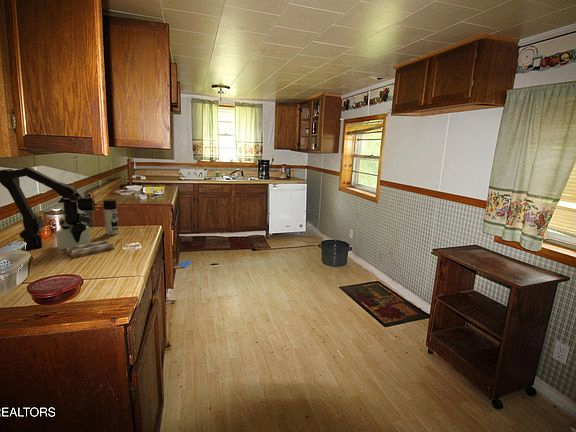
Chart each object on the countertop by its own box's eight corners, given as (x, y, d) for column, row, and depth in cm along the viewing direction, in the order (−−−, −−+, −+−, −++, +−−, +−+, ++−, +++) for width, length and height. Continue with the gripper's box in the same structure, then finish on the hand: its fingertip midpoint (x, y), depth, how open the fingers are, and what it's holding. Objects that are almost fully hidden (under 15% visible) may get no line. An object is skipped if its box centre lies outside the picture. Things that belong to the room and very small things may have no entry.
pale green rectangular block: (59, 249, 156) (57, 232, 154) (57, 248, 158) (55, 230, 156) (91, 243, 166) (89, 227, 165) (88, 242, 168) (86, 226, 167)
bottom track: (73, 258, 145) (73, 251, 144) (66, 253, 150) (65, 247, 150) (114, 249, 159) (113, 243, 158) (106, 245, 164) (106, 239, 164)
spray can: (113, 235, 182) (110, 201, 178) (103, 234, 183) (100, 200, 179) (121, 232, 188) (119, 199, 184) (111, 231, 190) (108, 198, 185)
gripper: (96, 211, 159) (98, 241, 162) (81, 206, 170) (84, 234, 173) (71, 214, 150) (74, 246, 154) (57, 209, 161) (60, 238, 165)
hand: (74, 240), depth 161 cm, fingers open, 9 cm apart
